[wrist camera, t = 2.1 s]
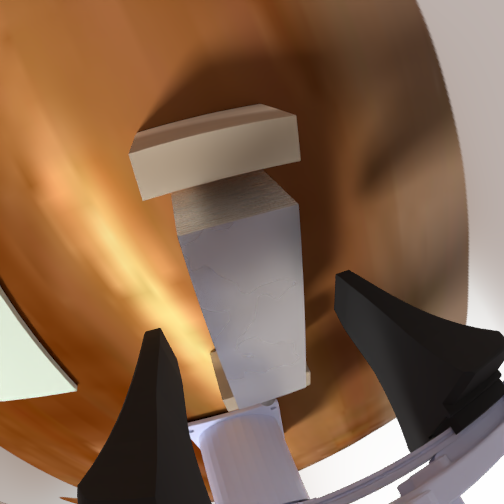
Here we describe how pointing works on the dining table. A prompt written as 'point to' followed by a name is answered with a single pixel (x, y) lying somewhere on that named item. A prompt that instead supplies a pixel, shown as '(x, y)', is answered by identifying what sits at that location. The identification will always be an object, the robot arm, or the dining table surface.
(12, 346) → the mat
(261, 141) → the blocks
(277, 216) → the steel bar
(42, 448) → the dining table surface
